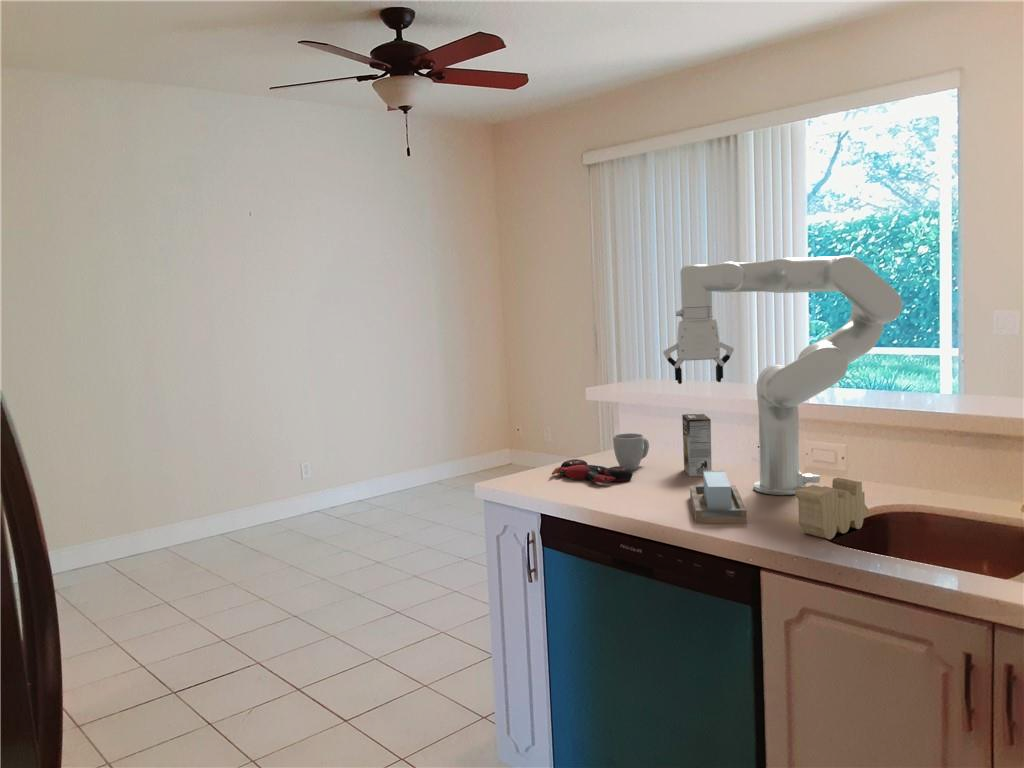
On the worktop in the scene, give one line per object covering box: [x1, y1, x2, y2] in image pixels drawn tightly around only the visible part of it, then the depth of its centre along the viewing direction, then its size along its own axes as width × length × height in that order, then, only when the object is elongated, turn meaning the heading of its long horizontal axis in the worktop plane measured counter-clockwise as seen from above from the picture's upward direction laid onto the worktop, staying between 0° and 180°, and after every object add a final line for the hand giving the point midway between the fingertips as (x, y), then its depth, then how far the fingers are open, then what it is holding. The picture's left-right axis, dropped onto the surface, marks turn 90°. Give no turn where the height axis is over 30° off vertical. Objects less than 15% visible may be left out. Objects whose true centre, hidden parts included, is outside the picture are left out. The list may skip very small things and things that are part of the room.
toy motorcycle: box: [551, 458, 634, 484], centre depth 221 cm, size 25×5×16 cm
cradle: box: [689, 484, 748, 525], centre depth 183 cm, size 22×11×3 cm, turn 170°
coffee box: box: [681, 413, 713, 477], centre depth 220 cm, size 9×6×16 cm
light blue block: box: [702, 470, 732, 509], centre depth 183 cm, size 16×5×6 cm, turn 170°
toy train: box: [794, 477, 870, 540], centre depth 163 cm, size 6×17×10 cm, turn 124°
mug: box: [612, 432, 650, 471], centre depth 231 cm, size 12×9×10 cm
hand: (699, 382), depth 198 cm, fingers open, 9 cm apart
